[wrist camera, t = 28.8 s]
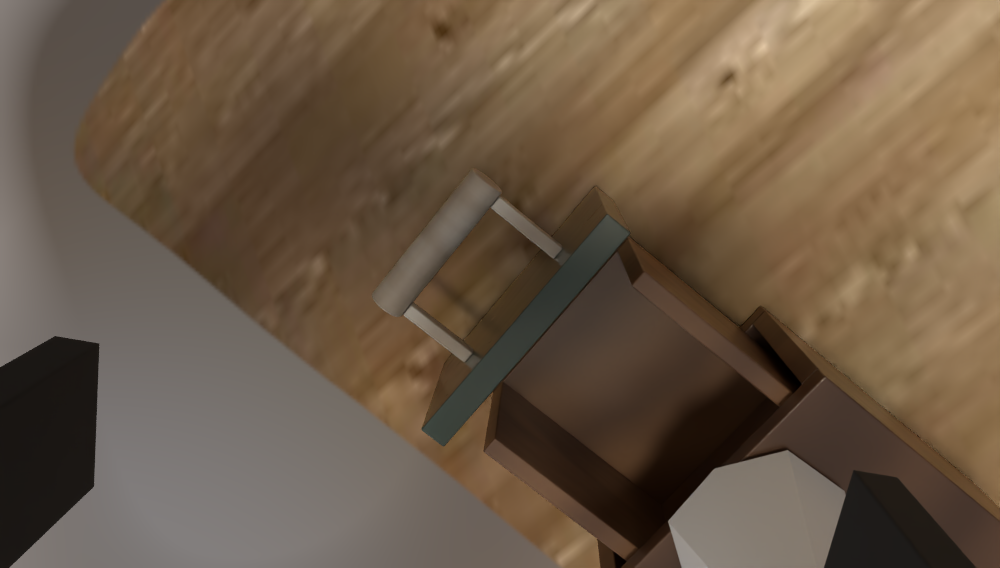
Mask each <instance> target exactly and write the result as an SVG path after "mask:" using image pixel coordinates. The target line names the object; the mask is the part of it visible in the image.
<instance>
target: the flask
mask: <svg viewBox="0 0 1000 568" xmlns="http://www.w3.org/2000/svg"><path fill="white" fill-rule="evenodd" d="M845 496H846V495H845V491H844V490H842V489H841V488H839V487H838V486H837V485H835V484H834V483H833V482H831V481H830V480H828V479H827V478H826V477H824V476H823V475H821V474H820V473H819V472H817V471H816V470H814V469H813V468H812V467H810V466H809V465H808V464H806V463H805V462H803V461H802V460H801V459H799V458H798V457H796V456H795V455H794V454H792V453H791V452H789V451H788V450H786V451H782V452H778V453H775V454H771V455H767V456H763V457H759V458H755V459H751V460H747V461H743V462H739V463H735V464H731V465H727V466H723V467H719V468H715V469H714V470H713V471H712V472H711V473H710V474H709V475H708V476H707V478H706V479H705V480H704V481H703V482H702V483H701V484H700V486H699V487H698V488H697V489H696V490H695V491H694V492H693V493H692V495H691V496H690V497H689V498H688V499H687V500H686V501H685V502H684V504H683V505H682V506H681V507H680V508H679V509H678V510H677V511H676V513H675V514H674V515H673V516H672V517H671V518H670V519H669V521H668V523H669V526H670V529H671V533H672V536H673V540H674V543H675V547H676V550H677V553H678V557H679V560H680V564H681V567H682V568H824V565H825V562H826V559H827V556H828V552H829V549H830V546H831V542H832V539H833V536H834V532H835V529H836V526H837V523H838V519H839V516H840V513H841V509H842V506H843V503H844V499H845Z"/></svg>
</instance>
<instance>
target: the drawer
mask: <svg viewBox="0 0 1000 568" xmlns="http://www.w3.org/2000/svg"><path fill="white" fill-rule="evenodd" d="M501 194H502V191H501V189H500V188H499V186H498V185H497V184H496V183H495V182H493V181H492V180H491V179H490V178H489V177H488V176H486V175H485V174H484V173H482V172H481V171H479V170H477V169H475V168H472V169H471V170H470V171H469V173H468V174H467V175H466V176H465V178H464V179H463V180H462V181H461V183H460V184H459V185H458V186H457V188H456V189H455V190H454V191H453V193H452V194H451V195H450V196H449V198H448V199H447V200H446V201H445V203H444V204H443V205H442V206H441V208H440V209H439V210H438V211H437V213H436V214H435V215H434V216H433V218H432V219H431V220H430V221H429V223H428V224H427V225H426V226H425V228H424V229H423V230H422V231H421V233H420V234H419V235H418V236H417V238H416V239H415V240H414V241H413V243H412V244H411V245H410V246H409V248H408V249H407V250H406V251H405V253H404V254H403V255H402V256H401V258H400V259H399V260H398V261H397V263H396V264H395V265H394V266H393V268H392V269H391V270H390V271H389V273H388V274H387V275H386V276H385V278H384V279H383V280H382V281H381V283H380V284H379V285H378V286H377V288H376V289H375V290H374V291H373V293H372V298H373V300H374V301H375V302H376V304H377V305H378V306H379V307H380V308H381V309H383V310H384V311H385V312H387V313H388V314H390V315H392V316H395V317H400V316H402V315H403V314H404V316H405V317H406V318H408V319H409V320H410V321H411V322H413V323H414V324H415V325H417V326H418V327H419V328H420V329H422V330H423V331H424V332H426V333H427V334H428V335H429V336H431V337H432V338H433V339H435V340H436V341H437V342H438V343H440V344H441V345H442V346H444V347H445V348H446V349H447V350H449V351H450V352H451V353H453V354H452V355H451V356H450V357H449V359H448V360H447V361H446V362H445V363H444V366H443V369H442V372H441V374H440V377H439V380H438V383H437V386H436V389H435V392H434V395H433V397H432V400H431V403H430V406H429V409H428V412H427V415H426V418H425V421H424V423H423V426H422V431H423V432H425V433H426V434H427V435H429V436H430V437H431V438H433V439H434V440H435V441H437V442H438V443H439V444H441V445H442V446H445V445H446V444H447V443H448V442H449V440H450V439H451V438H452V437H453V436H454V435H455V434H456V432H457V431H458V430H459V429H460V428H461V427H462V426H463V424H464V423H465V422H466V421H467V420H468V419H469V418H470V416H471V415H472V414H473V413H474V412H475V411H476V410H477V408H478V407H479V406H480V405H481V404H482V403H483V402H484V400H485V399H486V398H487V397H488V396H489V395H490V394H491V392H492V391H493V396H492V403H491V409H490V415H489V421H488V427H487V433H486V439H485V445H484V452H485V453H486V454H488V455H489V456H490V457H491V458H493V459H494V460H495V461H497V462H498V463H499V464H501V465H502V466H503V467H504V468H506V469H507V470H508V471H510V472H511V473H512V474H514V475H515V476H516V477H518V478H519V479H520V480H521V481H523V482H524V483H525V484H527V485H528V486H529V487H531V488H532V489H533V490H534V491H536V492H537V493H538V494H540V495H541V496H542V497H544V498H545V499H546V500H548V501H549V502H550V503H551V504H553V505H554V506H555V507H557V508H558V509H559V510H561V511H562V512H563V513H565V514H566V515H567V516H568V517H570V518H571V519H572V520H574V521H575V522H576V523H578V524H579V525H580V526H581V527H583V528H584V529H585V530H587V531H588V532H589V533H591V534H592V535H593V536H595V537H596V538H597V539H598V540H600V541H601V542H602V543H604V544H605V545H606V546H608V547H609V548H610V549H611V550H613V551H614V552H615V553H617V554H618V555H619V556H621V557H622V558H623V559H625V560H626V561H628V560H629V559H630V558H631V557H632V556H633V555H634V554H635V553H636V552H637V551H638V550H639V549H640V548H641V547H642V546H643V545H644V544H645V543H646V542H647V541H648V540H649V539H650V538H651V537H652V536H653V535H654V534H655V533H656V532H657V531H658V530H659V529H660V528H661V527H662V526H663V525H664V524H665V523H666V521H667V520H668V519H669V518H670V517H671V516H672V515H673V514H674V513H675V512H676V511H677V510H678V509H679V508H680V507H681V506H682V505H683V504H684V502H685V501H686V500H687V499H688V498H689V497H690V496H691V495H692V493H693V492H694V491H695V490H696V489H697V488H698V487H699V486H700V484H701V483H702V482H703V481H704V480H705V479H706V478H707V476H708V475H709V474H710V473H711V472H712V471H713V470H714V469H715V468H719V467H721V466H722V465H723V464H724V463H725V462H726V461H727V460H728V459H729V458H730V457H731V456H732V455H733V454H734V453H735V452H736V451H737V450H738V449H739V448H740V447H741V446H742V445H743V444H744V443H745V442H746V441H747V440H748V439H749V438H750V437H751V436H752V435H753V434H754V433H755V432H756V431H757V430H758V429H759V428H760V427H761V426H762V425H763V424H764V423H765V422H766V420H767V419H768V418H769V417H770V416H771V415H772V414H773V413H774V412H775V411H776V410H777V409H778V408H779V407H780V406H781V405H782V404H783V403H784V402H785V401H786V400H787V399H788V398H789V397H790V396H791V395H792V394H793V393H794V392H795V391H796V390H797V389H798V388H799V387H800V386H801V385H802V384H801V383H800V381H799V380H798V379H797V378H796V376H795V375H794V374H793V373H792V372H791V370H790V369H789V368H787V367H786V366H785V365H784V364H783V363H781V362H780V361H779V360H778V359H776V358H775V357H774V356H773V355H772V354H770V353H769V352H768V351H767V350H766V349H764V348H763V347H762V346H761V345H760V344H758V343H757V342H756V341H755V340H753V339H752V338H751V337H750V336H749V335H747V334H746V333H745V332H744V331H743V330H741V329H740V328H739V327H738V326H737V325H735V324H734V323H733V322H732V321H730V320H729V319H728V318H727V317H726V316H724V315H723V314H722V313H721V312H720V311H718V310H717V309H716V308H715V307H714V306H712V305H711V304H710V303H709V302H707V301H706V300H705V299H704V298H703V297H701V296H700V295H699V294H698V293H697V292H695V291H694V290H693V289H692V288H691V287H689V286H688V285H687V284H686V283H685V282H683V281H682V280H681V279H680V278H678V277H677V276H676V275H675V274H674V273H672V272H671V271H670V270H669V269H668V268H666V267H665V266H664V265H663V264H662V263H660V262H659V261H658V260H657V259H655V258H654V257H653V256H652V255H651V254H649V253H648V252H647V251H646V250H645V249H643V248H642V247H641V246H640V245H639V244H637V243H636V242H635V241H634V240H632V239H631V238H630V237H629V235H630V231H629V229H628V227H627V225H626V223H625V222H624V220H623V218H622V216H621V214H620V212H619V210H618V208H617V206H616V204H615V203H614V201H613V200H612V199H611V198H610V197H608V196H607V195H606V194H605V193H604V192H602V191H601V190H600V189H599V188H598V187H596V186H595V187H594V188H593V189H592V190H591V191H590V192H589V194H588V195H587V196H586V197H585V198H584V199H583V201H582V202H581V203H580V204H579V205H578V207H577V208H576V209H575V210H574V211H573V212H572V214H571V215H570V216H569V217H568V218H567V220H566V221H565V222H564V223H563V224H562V225H561V227H560V228H559V229H558V230H557V231H556V233H555V234H554V235H553V236H552V237H551V236H550V235H549V234H547V233H546V232H545V231H544V230H543V229H541V228H540V227H539V226H538V225H536V224H535V223H534V222H533V221H531V220H530V219H529V218H528V217H527V216H525V215H524V214H523V213H522V212H520V211H519V210H518V209H517V208H516V207H514V206H513V205H512V204H511V203H509V202H508V201H507V200H506V199H504V198H503V197H502V196H500V195H501ZM490 207H491V209H492V210H494V211H495V212H496V213H497V214H499V215H500V216H501V217H502V218H504V219H505V220H506V221H507V222H509V223H510V224H511V225H512V226H513V227H515V228H516V229H517V230H518V231H520V232H521V233H522V234H523V235H525V236H526V237H527V238H528V239H529V240H531V241H532V242H533V243H534V244H536V245H537V246H538V247H539V248H541V250H540V251H539V253H538V254H537V255H536V256H535V257H534V258H533V260H532V261H531V262H530V263H529V264H528V266H527V267H526V268H525V269H524V270H523V271H522V273H521V274H520V275H519V276H518V277H517V278H516V280H515V281H514V282H513V283H512V284H511V286H510V287H509V288H508V289H507V290H506V291H505V293H504V294H503V295H502V296H501V297H500V299H499V300H498V301H497V302H496V303H495V304H494V306H493V307H492V308H491V309H490V310H489V311H488V313H487V314H486V315H485V316H484V317H483V319H482V320H481V321H480V322H479V323H478V324H477V326H476V327H475V328H474V329H473V330H472V332H471V333H470V334H469V335H468V336H467V337H466V339H465V340H464V341H463V340H461V339H460V338H459V337H457V336H456V335H455V334H454V333H452V332H451V331H450V330H449V329H447V328H446V327H445V326H443V325H442V324H441V323H440V322H438V321H437V320H436V319H434V318H433V317H432V316H431V315H429V314H428V313H427V312H426V311H424V310H423V309H422V308H420V307H419V306H418V305H417V304H415V303H414V302H413V301H414V300H415V299H416V298H417V296H418V295H419V294H420V293H421V292H422V290H423V289H424V288H425V287H426V285H427V284H428V283H429V282H430V281H431V279H432V278H433V277H434V276H435V274H436V273H437V272H438V271H439V270H440V268H441V267H442V266H443V265H444V263H445V262H446V261H447V260H448V259H449V257H450V256H451V255H452V254H453V252H454V251H455V250H456V249H457V248H458V246H459V245H460V244H461V243H462V241H463V240H464V239H465V238H466V237H467V235H468V234H469V233H470V232H471V230H472V229H473V228H474V227H475V226H476V224H477V223H478V222H479V221H480V219H481V218H482V217H483V216H484V215H485V213H486V212H487V211H488V210H489V208H490ZM404 312H405V313H404Z"/></svg>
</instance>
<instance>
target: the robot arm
mask: <svg viewBox="0 0 1000 568" xmlns="http://www.w3.org/2000/svg"><path fill="white" fill-rule="evenodd" d="M98 362H99V344H98V343H92V342H86V341H81V340H75V339H68V338H63V337H56V336H55V337H53V338H51V339H49V340H48V341H46V342H44V343H42V344H41V345H39V346H37V347H35V348H33V349H32V350H30V351H28V352H26V353H25V354H23V355H21V356H19V357H18V358H16V359H14V360H13V361H11V362H9V363H7V364H5V365H4V366H2V367H0V568H9V567H10V566H11V565H12V564H13V563H14V562H16V561H17V560H18V559H19V558H20V557H21V556H22V555H23V554H24V553H25V552H26V551H27V550H28V549H29V548H30V547H31V546H32V545H33V544H34V543H35V542H36V541H37V540H39V538H41V537H42V536H43V535H44V534H45V533H46V532H47V531H48V530H49V529H50V528H51V527H52V526H53V525H54V524H55V523H56V522H57V521H58V520H59V519H60V518H61V517H63V515H65V514H66V513H67V512H68V511H69V510H70V509H71V508H72V507H73V506H74V505H75V504H76V503H77V502H78V501H79V500H80V499H81V498H82V497H83V496H84V495H86V494H87V493H88V492H89V491H90V490H91V489H92V488H93V487H94V468H95V442H96V441H95V440H96V415H97V389H98ZM824 568H976V567H975V565H974V564H973V563H972V562H971V561H970V560H969V559H968V557H967V556H966V555H965V554H964V553H963V552H962V551H961V549H960V548H959V547H958V546H957V545H956V544H955V543H954V541H953V540H952V539H951V538H950V537H949V536H948V535H947V533H946V532H945V531H944V530H943V529H942V528H941V527H940V525H939V524H938V523H937V522H936V521H935V520H934V519H933V517H932V516H931V515H930V514H929V513H928V512H927V511H926V509H925V508H924V507H923V506H922V505H921V504H920V503H919V501H918V500H917V499H916V498H915V497H914V496H913V495H912V493H911V492H910V491H909V490H908V489H907V488H906V487H905V485H904V484H903V483H902V482H901V481H900V480H899V479H898V477H893V476H887V475H881V474H875V473H869V472H863V471H857V470H853V473H852V476H851V480H850V483H849V486H848V489H847V493H846V496H845V499H844V503H843V506H842V509H841V513H840V516H839V519H838V523H837V526H836V529H835V532H834V536H833V539H832V542H831V546H830V549H829V552H828V556H827V559H826V562H825V565H824Z"/></svg>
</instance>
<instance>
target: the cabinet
mask: <svg viewBox="0 0 1000 568" xmlns="http://www.w3.org/2000/svg"><path fill="white" fill-rule="evenodd" d="M740 329H741V330H743V331H744V332H745V333H746V334H747V335H749V336H750V337H751V338H752V339H753V340H755V341H756V342H757V343H758V344H760V345H761V346H762V347H763V348H764V349H766V350H767V351H768V352H769V353H770V354H772V355H773V356H774V357H775V358H776V359H778V360H779V361H780V362H781V363H783V364H784V365H785V366H786V367H787V368H789V369H790V370H791V372H792V373H793V374H794V375H795V376H796V378H797V379H798V380H799V381H800V383H801V384H802V385H801V386H800V387H799V388H798V389H797V390H796V391H795V392H794V393H793V394H792V395H791V396H790V397H789V398H788V399H787V400H786V401H785V402H784V403H783V404H782V405H781V406H780V407H779V408H778V409H777V410H776V411H775V412H774V413H773V414H772V415H771V416H770V417H769V418H768V419H767V420H766V422H765V423H764V424H763V425H762V426H761V427H760V428H759V429H758V430H757V431H756V432H755V433H754V434H753V435H752V436H751V437H750V438H749V439H748V440H747V441H746V442H745V443H744V444H743V445H742V446H741V447H740V448H739V449H738V450H737V451H736V452H735V453H734V454H733V455H732V456H731V457H730V458H729V459H728V460H727V461H726V462H725V463H724V464H723V465H722V466H721V467H723V466H727V465H731V464H735V463H739V462H743V461H747V460H751V459H755V458H759V457H763V456H767V455H771V454H775V453H778V452H782V451H786V450H788V451H789V452H791V453H792V454H794V455H795V456H796V457H798V458H799V459H801V460H802V461H803V462H805V463H806V464H808V465H809V466H810V467H812V468H813V469H814V470H816V471H817V472H819V473H820V474H821V475H823V476H824V477H826V478H827V479H828V480H830V481H831V482H833V483H834V484H835V485H837V486H838V487H839V488H841V489H842V490H844V491H845V495H846V493H847V489H848V486H849V483H850V480H851V476H852V473H853V470H857V471H863V472H869V473H875V474H881V475H887V476H893V477H898V479H899V480H900V481H901V482H902V483H903V484H904V485H905V487H906V488H907V489H908V490H909V491H910V492H911V493H912V495H913V496H914V497H915V498H916V499H917V500H918V501H919V503H920V504H921V505H922V506H923V507H924V508H925V509H926V511H927V512H928V513H929V514H930V515H931V516H932V517H933V519H934V520H935V521H936V522H937V523H938V524H939V525H940V527H941V528H942V529H943V530H944V531H945V532H946V533H947V535H948V536H949V537H950V538H951V539H952V540H953V541H954V543H955V544H956V545H957V546H958V547H959V548H960V549H961V551H962V552H963V553H964V554H965V555H966V556H967V557H968V559H969V560H970V561H971V562H972V563H973V564H974V565H975V567H976V568H1000V508H999V507H998V506H997V505H996V504H995V503H994V502H993V501H992V500H991V499H990V498H989V497H988V496H987V495H986V494H985V493H984V492H982V491H981V490H980V489H979V488H978V487H977V486H976V485H975V484H974V483H973V482H972V481H971V480H969V479H968V478H967V477H966V476H965V475H963V474H962V473H961V472H960V471H959V470H957V469H956V468H955V467H954V466H953V465H951V464H950V463H949V462H948V461H947V460H945V459H944V458H943V457H942V456H941V455H939V454H938V453H937V452H936V451H935V450H933V449H932V448H931V447H930V446H929V445H927V444H926V443H925V442H924V441H923V440H921V439H920V438H919V437H918V436H917V435H915V434H914V433H913V432H912V431H911V430H909V429H908V428H907V427H906V426H905V425H903V424H902V423H901V422H900V421H899V420H897V419H896V418H895V417H894V416H893V415H891V414H890V413H889V412H888V411H887V410H885V409H884V408H883V407H882V406H881V405H879V404H878V403H877V402H876V401H875V400H873V399H872V398H871V397H870V396H869V395H867V394H866V393H865V392H864V391H863V390H862V389H860V388H859V387H858V386H857V385H856V384H854V383H853V382H852V381H851V380H850V379H848V378H847V377H846V376H845V375H844V374H842V373H841V372H840V371H839V370H838V369H836V368H835V367H834V366H833V365H832V364H830V363H829V362H828V361H827V360H826V359H824V358H823V357H822V356H821V355H820V354H818V353H817V352H816V351H815V350H814V349H812V348H811V347H810V346H809V345H808V344H806V343H805V342H804V341H803V340H802V339H800V338H799V337H798V336H797V335H796V334H794V333H793V332H792V331H791V330H790V329H788V328H787V327H786V326H785V325H784V324H782V323H781V322H780V321H779V320H778V319H776V318H775V317H774V316H773V315H772V314H770V313H769V312H768V311H767V310H766V309H764V308H763V307H759V308H758V309H757V310H756V311H755V313H754V314H753V315H752V316H751V317H750V318H749V319H748V320H747V321H746V322H745V323H744V324H743V325H742V326H741V327H740ZM675 513H676V512H675ZM675 513H674V514H675ZM674 514H673V515H674ZM673 515H672V516H673ZM672 516H671V517H672ZM671 517H670V518H671ZM670 518H669V519H670ZM669 519H668V520H667V521H666V523H665V524H664V525H663V526H662V527H661V528H660V529H659V530H658V531H657V532H656V533H655V534H654V535H653V536H652V537H651V538H650V539H649V540H648V541H647V542H646V543H645V544H644V545H643V546H642V547H641V548H640V549H639V550H638V551H637V552H636V553H635V554H634V555H633V556H632V557H631V558H630V559H629V560H628V561H626V560H625V559H623V558H622V557H621V556H619V555H618V554H617V553H615V552H614V551H613V550H611V549H610V548H609V547H608V546H606V545H605V544H604V543H602V542H601V541H600V540H598V539H597V540H598V549H599V558H600V567H601V568H682V567H681V564H680V560H679V557H678V553H677V550H676V547H675V543H674V540H673V536H672V533H671V529H670V526H669V523H668V521H669Z"/></svg>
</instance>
